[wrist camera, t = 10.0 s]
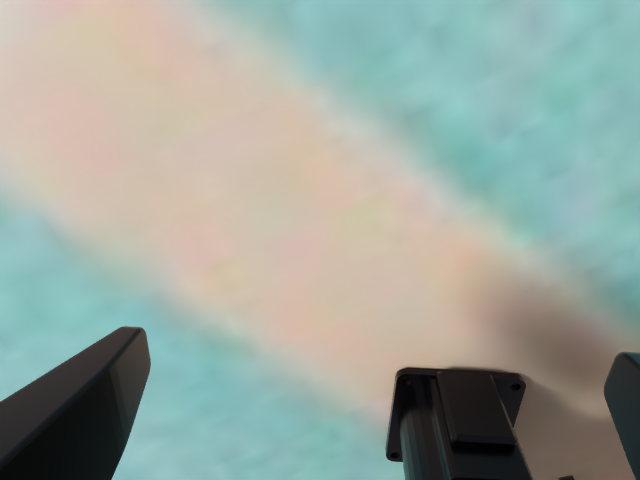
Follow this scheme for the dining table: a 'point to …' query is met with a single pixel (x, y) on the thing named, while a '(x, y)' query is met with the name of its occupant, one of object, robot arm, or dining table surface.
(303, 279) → the dining table surface
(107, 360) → the robot arm
